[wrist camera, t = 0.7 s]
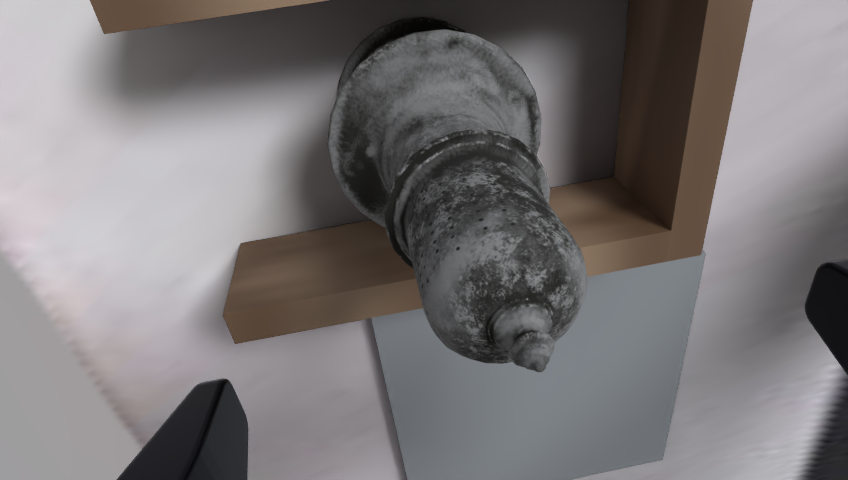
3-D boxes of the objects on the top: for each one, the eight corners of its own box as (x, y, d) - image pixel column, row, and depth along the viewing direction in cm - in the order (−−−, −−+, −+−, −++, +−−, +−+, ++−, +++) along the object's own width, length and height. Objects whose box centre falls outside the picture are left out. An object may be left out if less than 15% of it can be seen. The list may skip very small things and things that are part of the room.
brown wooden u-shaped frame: (679, -121, 15) (779, -128, 12) (641, 198, 21) (701, 255, 18) (136, -44, 14) (78, -27, 11) (250, 270, 20) (235, 344, 17)
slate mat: (697, 245, 23) (705, 253, 22) (657, 450, 30) (662, 459, 30) (369, 307, 22) (370, 317, 21) (413, 502, 29) (414, 513, 29)
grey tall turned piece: (540, 72, 18) (824, 295, 8) (441, 210, 20) (559, 524, 10) (388, -36, 15) (507, 80, 5) (295, 134, 17) (252, 447, 7)
